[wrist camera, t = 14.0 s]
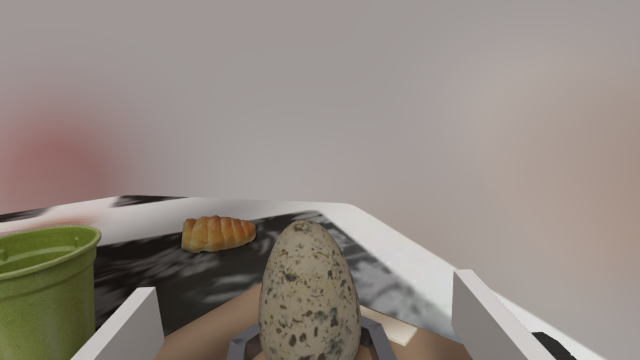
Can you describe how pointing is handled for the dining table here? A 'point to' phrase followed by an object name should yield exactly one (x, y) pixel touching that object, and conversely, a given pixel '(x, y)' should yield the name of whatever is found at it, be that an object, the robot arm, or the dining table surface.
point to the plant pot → (47, 292)
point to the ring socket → (371, 338)
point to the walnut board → (238, 315)
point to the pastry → (216, 234)
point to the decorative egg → (308, 298)
